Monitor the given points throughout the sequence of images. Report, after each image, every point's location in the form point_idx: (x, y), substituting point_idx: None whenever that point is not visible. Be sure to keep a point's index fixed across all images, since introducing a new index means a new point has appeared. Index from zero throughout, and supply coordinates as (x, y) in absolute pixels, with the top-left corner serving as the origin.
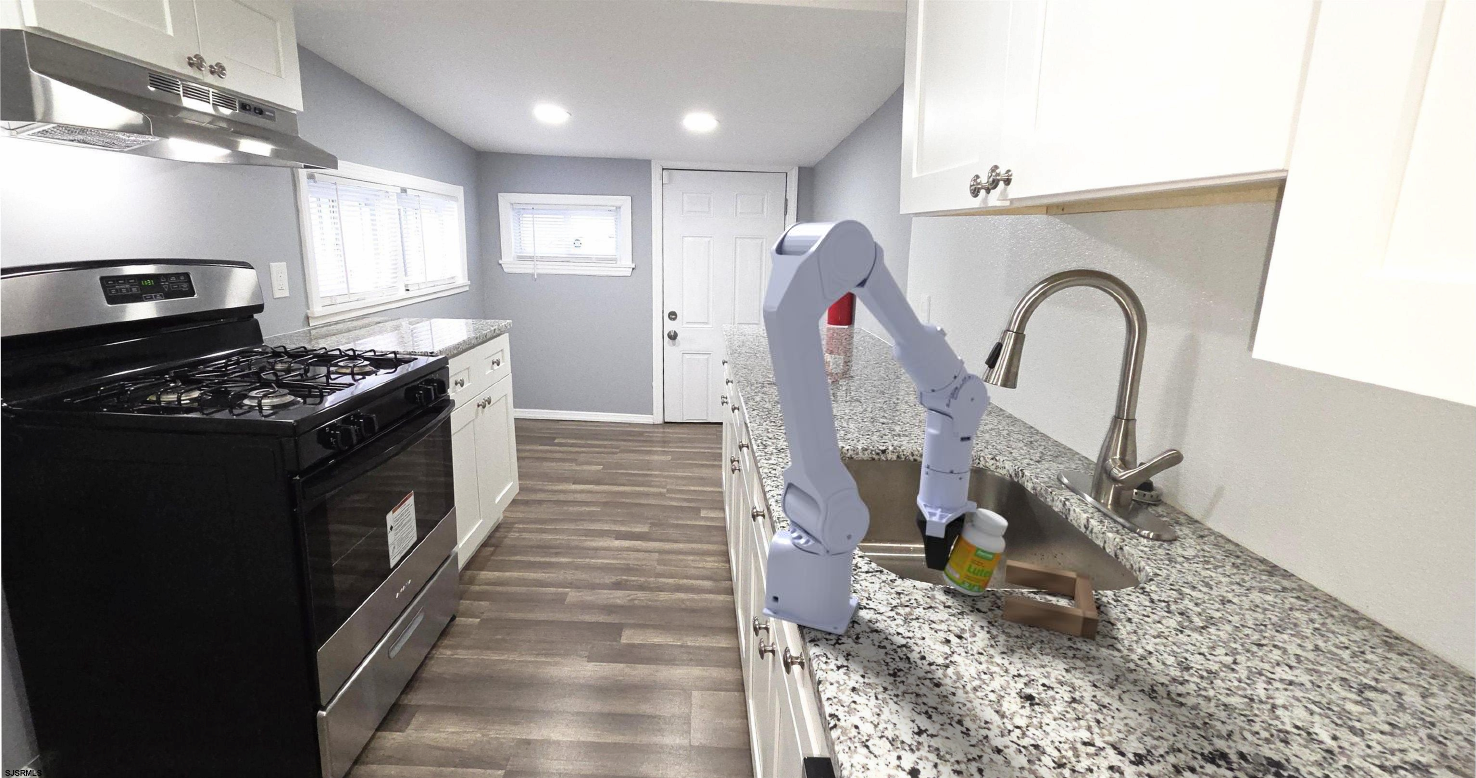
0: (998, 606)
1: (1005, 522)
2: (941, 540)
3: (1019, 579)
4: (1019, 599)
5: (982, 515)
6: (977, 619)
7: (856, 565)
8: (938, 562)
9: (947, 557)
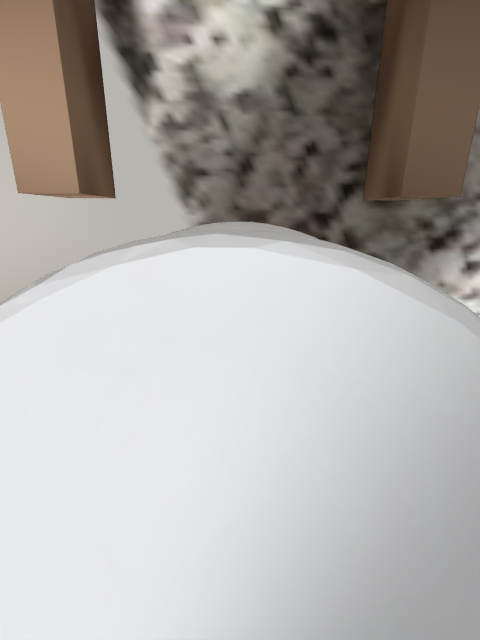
0: (319, 217)
1: (219, 294)
2: None
3: (99, 132)
4: (438, 128)
5: None
6: (429, 282)
7: None
8: None
9: None
